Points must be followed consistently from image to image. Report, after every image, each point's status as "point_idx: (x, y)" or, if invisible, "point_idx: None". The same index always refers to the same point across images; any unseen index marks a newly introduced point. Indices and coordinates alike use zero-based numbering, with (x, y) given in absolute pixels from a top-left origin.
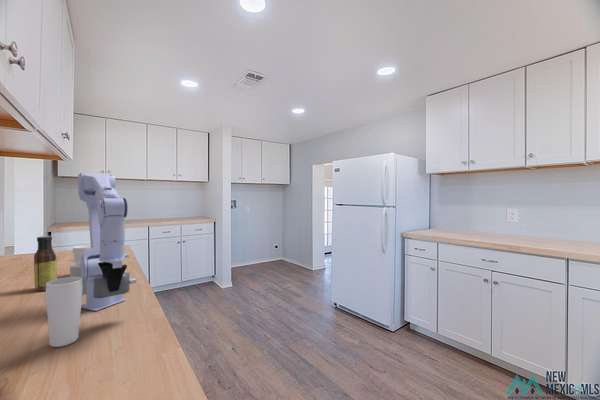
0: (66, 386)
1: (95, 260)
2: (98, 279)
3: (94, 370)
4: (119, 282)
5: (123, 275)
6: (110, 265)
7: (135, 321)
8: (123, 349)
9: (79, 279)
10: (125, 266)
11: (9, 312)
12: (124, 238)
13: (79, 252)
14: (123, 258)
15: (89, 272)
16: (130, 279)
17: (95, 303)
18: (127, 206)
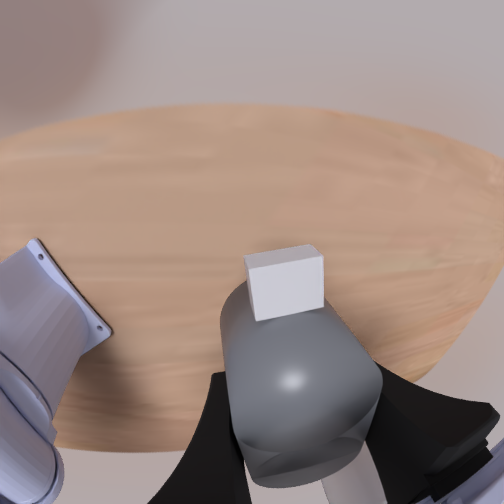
0: (464, 317)
1: (4, 486)
2: (340, 467)
3: (462, 290)
4: (383, 371)
5: (361, 389)
6: (417, 502)
7: (302, 202)
8: (443, 247)
9: (384, 495)
10: (499, 416)
11: (70, 446)
12: None
13: None
14: (496, 494)
15: (52, 464)
16: (277, 306)
17: (83, 343)
18: None
